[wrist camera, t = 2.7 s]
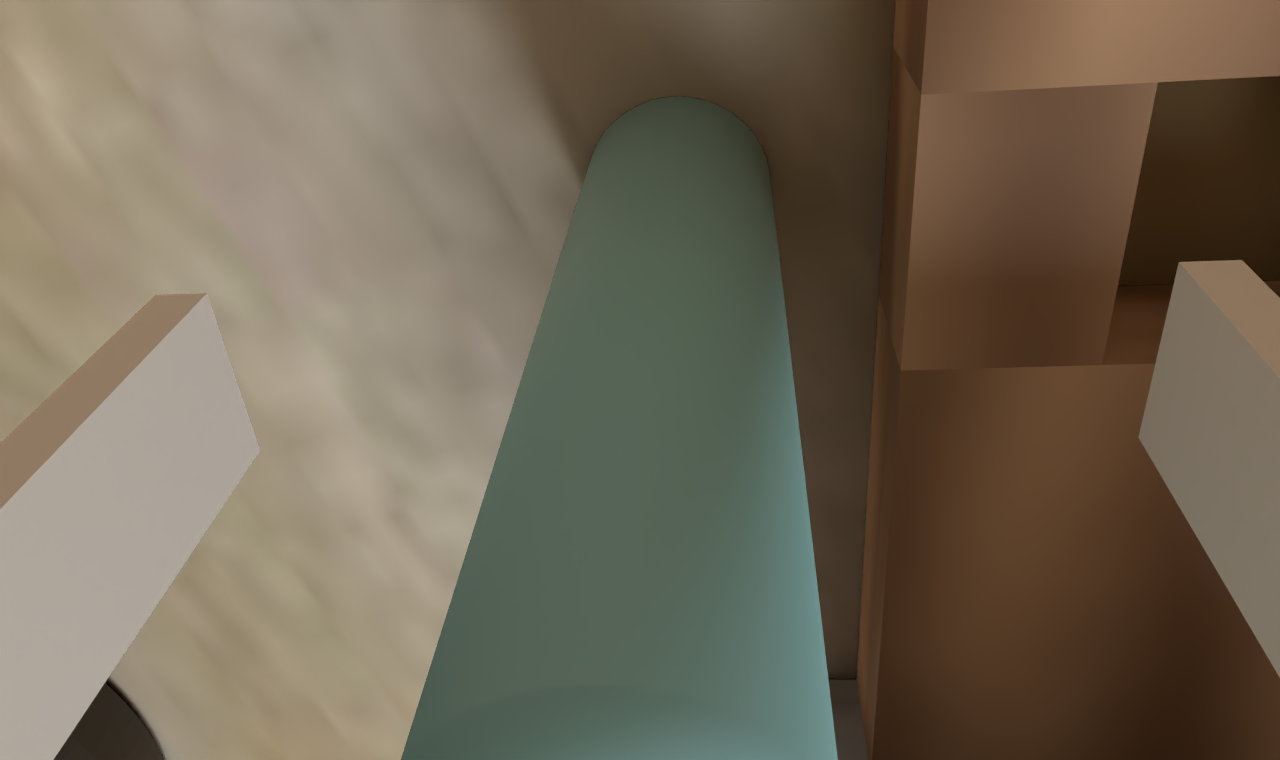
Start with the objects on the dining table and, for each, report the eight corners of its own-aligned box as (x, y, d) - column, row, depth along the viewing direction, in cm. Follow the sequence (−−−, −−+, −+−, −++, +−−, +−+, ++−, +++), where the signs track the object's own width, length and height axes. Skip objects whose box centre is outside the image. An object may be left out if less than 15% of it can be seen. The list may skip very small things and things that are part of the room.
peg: (596, 273, 21) (433, 958, 9) (578, 101, 19) (343, 683, 7) (770, 266, 21) (839, 970, 9) (769, 91, 19) (856, 686, 7)
